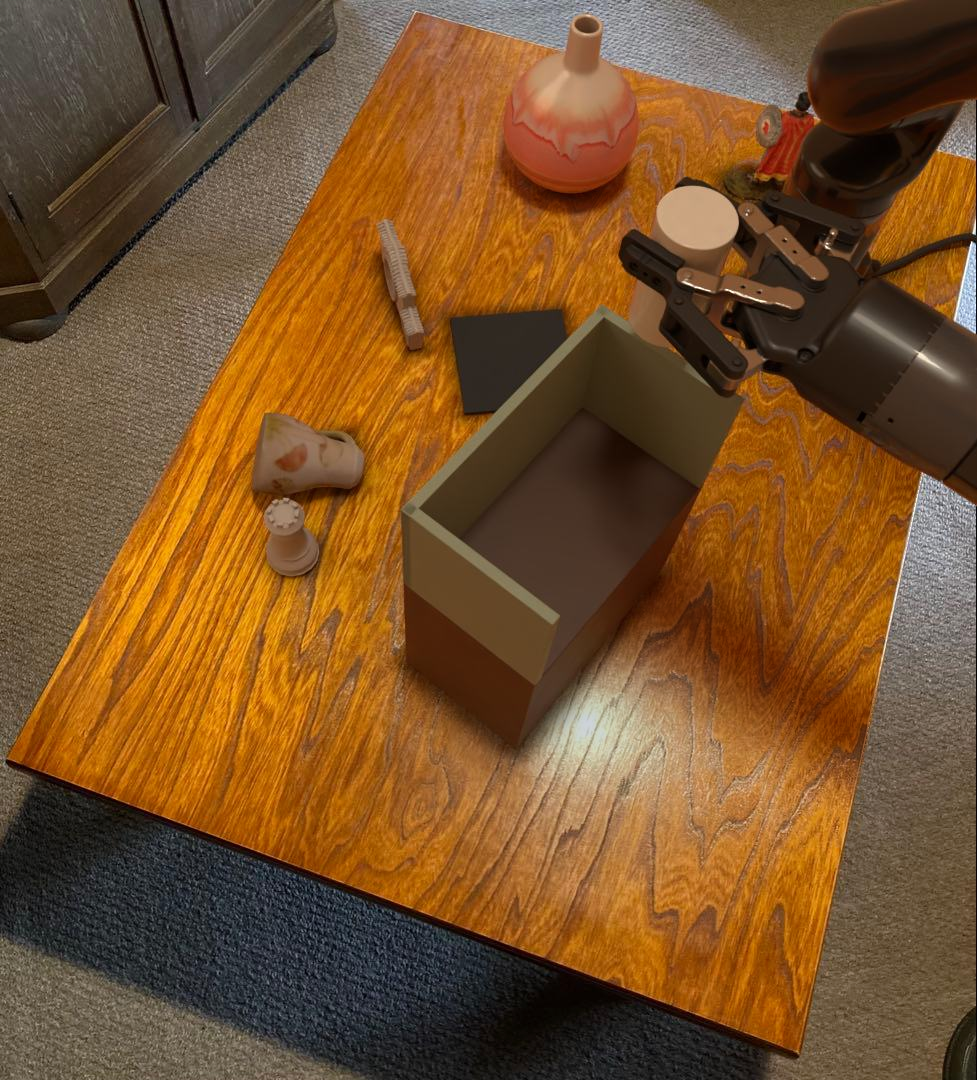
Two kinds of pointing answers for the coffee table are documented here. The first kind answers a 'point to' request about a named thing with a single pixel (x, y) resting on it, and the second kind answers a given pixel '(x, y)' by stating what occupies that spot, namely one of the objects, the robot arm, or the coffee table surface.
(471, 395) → the mat
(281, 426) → the mug
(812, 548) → the coffee table surface
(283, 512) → the rook chess piece
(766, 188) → the figurine
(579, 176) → the vase
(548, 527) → the bay
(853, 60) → the robot arm
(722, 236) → the beige cylinder
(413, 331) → the garden wall model
